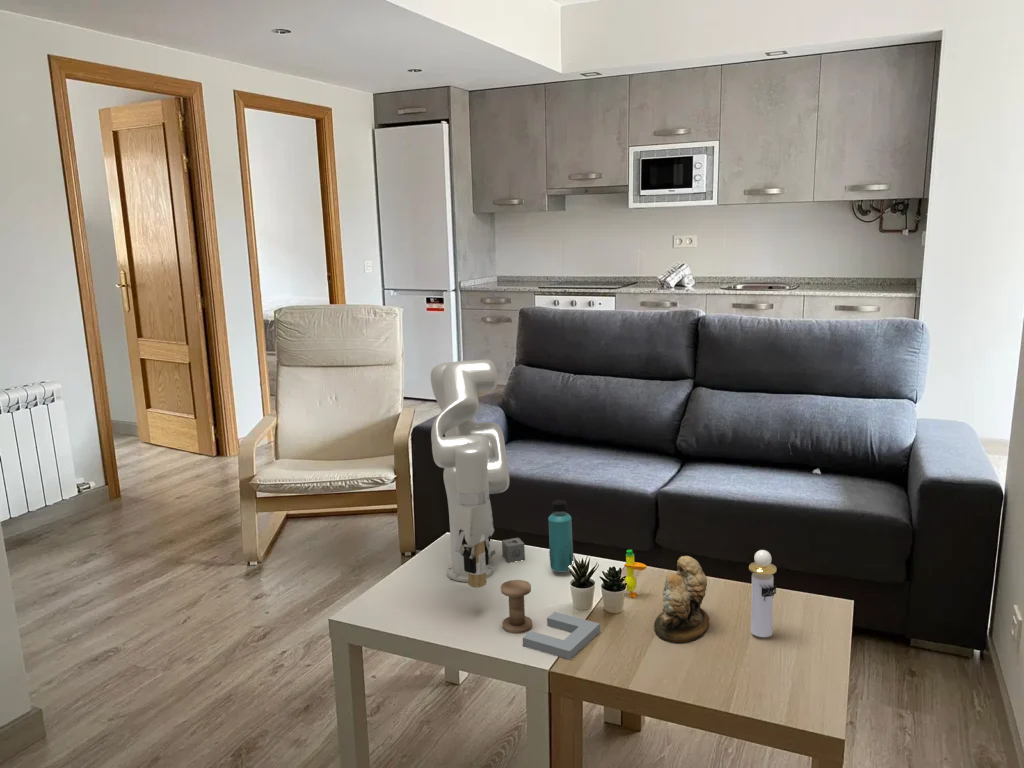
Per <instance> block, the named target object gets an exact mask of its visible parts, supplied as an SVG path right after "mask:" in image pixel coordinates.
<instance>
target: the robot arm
mask: <svg viewBox="0 0 1024 768" xmlns="http://www.w3.org/2000/svg"><path fill="white" fill-rule="evenodd" d="M498 377H499V376H498V370H497V367H496V365H495V363H494V362H493V361H492V360H490V359H476V360H475V359H474V360H473V359H472V360H459V361H451V362H448V361H447V362H443V363H440V364H437V365H435V366H434V367H433V368H431V372H430V384H431V385H430V386H431V389H432V393H433V395H434V398H435V400H436V403H437V405H438V406H439V408H440V413H439V414H438V415H437V416H436V418H435V419H434V420H433V423H432V426H431V431H430V436H431V437H430V439H431V452H432V458H433V461H434V463H435V465H436V466H438V467H439V468H441V469H443V483H444V488H445V493H446V497H447V505H448V507H447V508H448V516H449V517H448V518H449V533H450V537H449V538H450V549H451V552H450V553H451V564H450V565H449V566H448V567H447V569H446V576H447V577H448V578H449V579H451V580H454V581H457V582H463V583H464V582H467V583H468V572H469V573H473V574H475V573H476V558H475V557H474V549H475V545H476V544H478V543H480V539H481V536H482V535H484V537H485V541H484V545H485V561H486V579H487V578H488V577H490V576H492V574H493V572H494V566H493V564H492V563H490V558H491V557H493V556H494V555H495V554H496V550H495V549H494V548H490V546H491V544H490V543H491V539H492V536H493V535H494V532H495V528H494V519H493V511H492V510H493V509H492V505H491V500H490V495H492V494H500V493H504V492H505V491H507V489H509V486H510V471H509V464H508V457H507V450H506V441H505V437H504V432H503V429H502V428H501V426H500V425H499V424H498V423H496V422H491V421H489V422H475V416H476V415H477V414H478V412H479V409H480V402H479V397H478V392H493V391H494V390H496V388H497V386H498V381H499V380H498ZM467 547H469V548H470V552H469V551H468V550H467Z"/></svg>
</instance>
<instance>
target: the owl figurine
mask: <svg viewBox="0 0 1024 768" xmlns="http://www.w3.org/2000/svg"><path fill="white" fill-rule="evenodd" d="M676 566H677V571H676V574H675V573H669V574H667V575H666V576H665V578H666V579H664V582H663V583H664V585H663V586H664V587H663V590H662V601H663V605H662V606H663V609H662V612H660V614H658V616H657V617H656V618H655V620H654V623H653V628H654V632H655V635H656V636H658V638H659V639H661V640H662V641H665V642H668V643H671V644H679V645H680V644H682V645H683V644H690V643H693V642H695V641H698V640H699V639H700V638H702V637H704V635H705V634H706V633H707V631H708V629H709V627H710V617H709V614H708V613H707V612H706V611H705V610H703V608H701V605H702V603H703V601H704V599H705V597H706V591H707V586H708V579H707V575H706V574H705V572H704V571H703V569H702V567H701V564H700V563H699V562H698V560H697V559H695V558H693V557H692V556H689V555H683V556H682V555H681V556H680V557H679V558H678V560H677V564H676Z"/></svg>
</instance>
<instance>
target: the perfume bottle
mask: <svg viewBox="0 0 1024 768" xmlns="http://www.w3.org/2000/svg"><path fill="white" fill-rule="evenodd" d="M753 558H754V561H753V562H751V563H750V564H749V566H748V570H749V571H750V572H751V599H750V600H751V602H750V603H751V605H750V606H751V607H750V632H751V634H752V635H753V636H756V637H759V638H768V637H771V636H772V635H773V629H774V628H773V626H774V625H773V624H774V622H773V621H774V618H773V617H774V615H773V614H774V613H773V612H774V596H775V594H776V595H777V585H774V574H775V573H777V566H776V565H774V564H772V560H773V559H772V555H771V553H770V552H769V551H768V550H766V549H759V550H758V551H756V552H755V553H754V557H753Z"/></svg>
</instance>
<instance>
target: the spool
mask: <svg viewBox="0 0 1024 768" xmlns="http://www.w3.org/2000/svg"><path fill="white" fill-rule="evenodd" d="M500 592H501V594H502V595H504V596H505V597H508V612H509V613H508V614H509V616H508V617H506V618H505V619H503V620H502V629H503V631H505V632H507V633H509V634H514V635H516V634H524V633H527V632H530V631H532V629H533V624H534V623H533V620H532V618H530V616H527V615H526V613H525V611H526V610H525V609H526V608H525V607H526V606H525V596H527V595H530V593H531V592H532V585H531V583H530V582H529V581H527V580H524V579H511V580H507V581H505V582H503V583H501V585H500Z"/></svg>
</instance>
